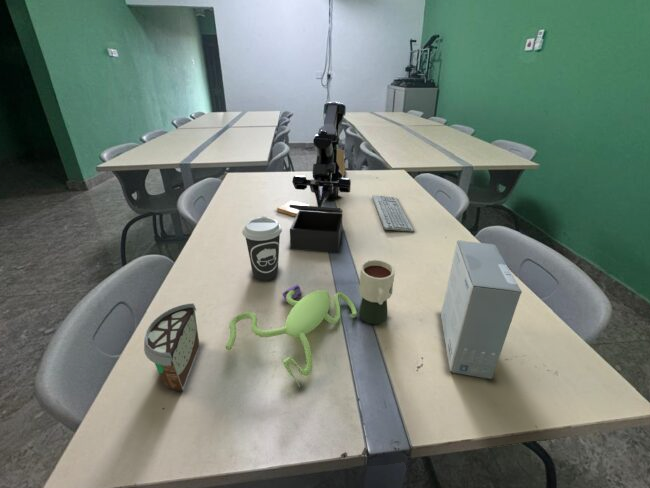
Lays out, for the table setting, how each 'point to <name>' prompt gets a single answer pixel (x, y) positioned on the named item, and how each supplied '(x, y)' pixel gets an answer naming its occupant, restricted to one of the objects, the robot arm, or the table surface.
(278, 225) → the coffee cup
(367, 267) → the character mug
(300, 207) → the lid
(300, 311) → the figurine
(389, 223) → the keyboard
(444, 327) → the hard drive box
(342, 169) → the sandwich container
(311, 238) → the open black box
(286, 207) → the toast
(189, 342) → the food container
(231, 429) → the table surface
